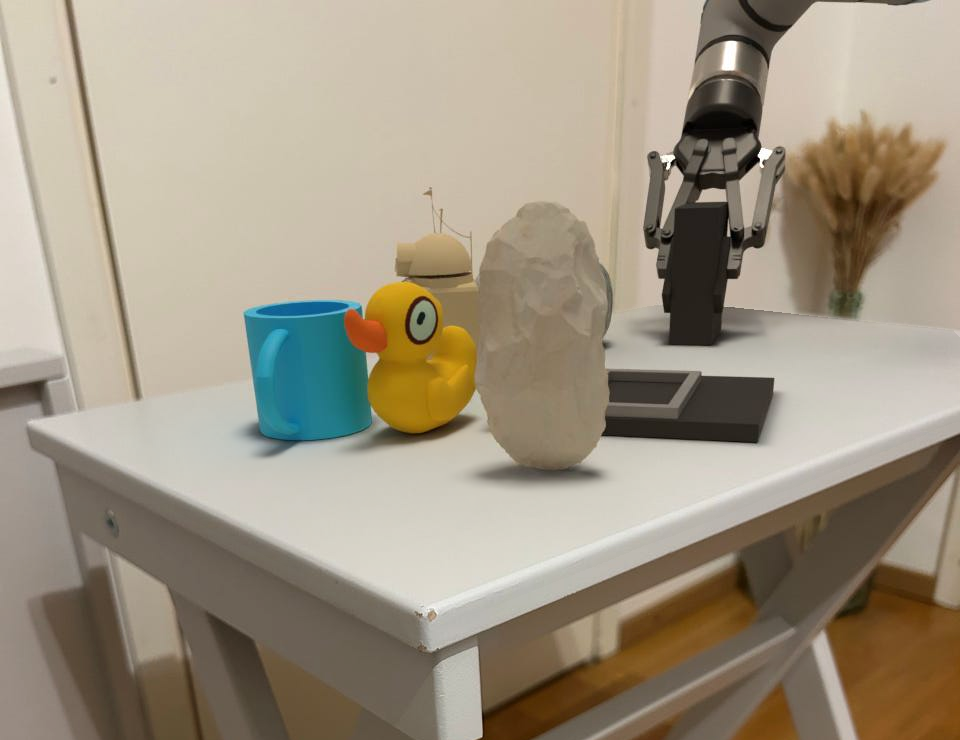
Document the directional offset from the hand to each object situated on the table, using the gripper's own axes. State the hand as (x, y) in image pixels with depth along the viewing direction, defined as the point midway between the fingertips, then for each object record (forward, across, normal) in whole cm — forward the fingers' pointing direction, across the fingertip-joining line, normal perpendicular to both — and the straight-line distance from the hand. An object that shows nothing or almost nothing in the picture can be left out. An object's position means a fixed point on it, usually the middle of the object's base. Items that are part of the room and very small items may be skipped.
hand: (692, 303), depth 93 cm
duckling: (+27, +14, +21) cm, 37 cm away
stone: (+32, +3, +26) cm, 42 cm away
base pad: (+21, 0, +16) cm, 26 cm away
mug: (+28, +22, +23) cm, 43 cm away
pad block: (0, 0, -5) cm, 5 cm away
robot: (+16, +19, +10) cm, 27 cm away
